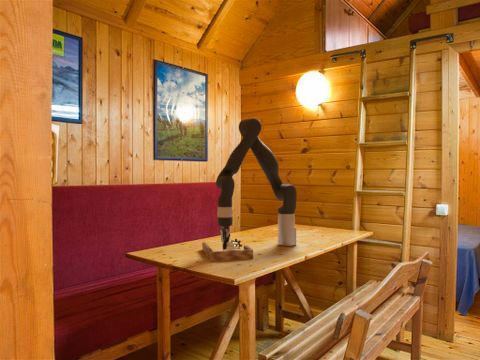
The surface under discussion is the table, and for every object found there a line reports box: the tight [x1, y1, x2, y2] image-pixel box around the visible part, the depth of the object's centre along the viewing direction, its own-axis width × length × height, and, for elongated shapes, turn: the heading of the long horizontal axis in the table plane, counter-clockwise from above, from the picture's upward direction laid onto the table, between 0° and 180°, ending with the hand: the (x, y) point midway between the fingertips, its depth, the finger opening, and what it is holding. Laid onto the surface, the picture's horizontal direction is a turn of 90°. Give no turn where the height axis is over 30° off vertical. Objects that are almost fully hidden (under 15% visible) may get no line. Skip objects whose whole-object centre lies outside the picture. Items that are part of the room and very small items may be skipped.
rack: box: [201, 241, 254, 262], centre depth 182 cm, size 20×26×5 cm
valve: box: [226, 238, 243, 250], centre depth 182 cm, size 7×7×12 cm
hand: (225, 250), depth 183 cm, fingers closed
